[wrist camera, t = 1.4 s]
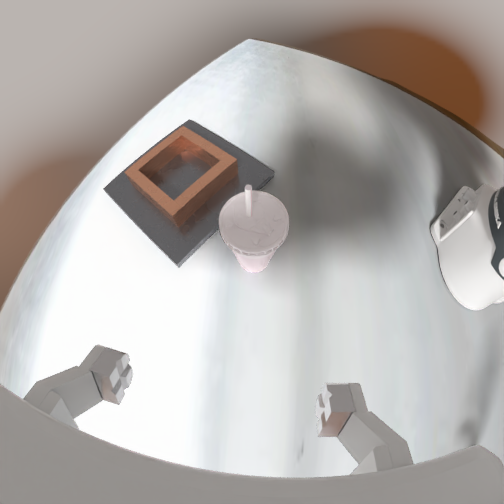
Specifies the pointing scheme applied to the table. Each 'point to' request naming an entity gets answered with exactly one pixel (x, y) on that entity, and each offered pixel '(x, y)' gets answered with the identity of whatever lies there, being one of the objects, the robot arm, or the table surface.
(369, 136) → the table surface
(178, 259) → the mount
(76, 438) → the robot arm
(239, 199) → the smoothie
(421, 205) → the table surface
